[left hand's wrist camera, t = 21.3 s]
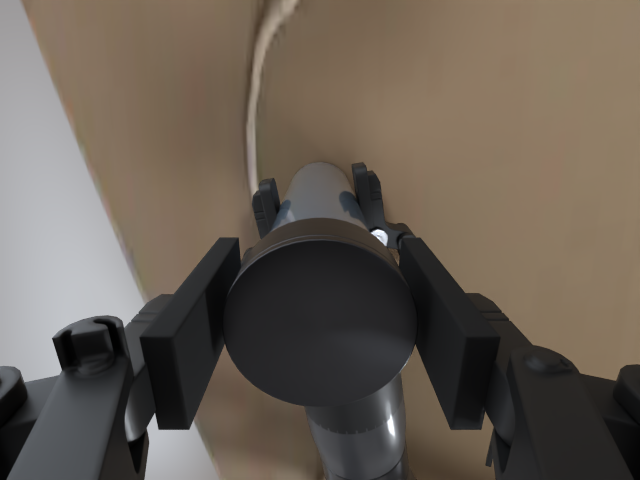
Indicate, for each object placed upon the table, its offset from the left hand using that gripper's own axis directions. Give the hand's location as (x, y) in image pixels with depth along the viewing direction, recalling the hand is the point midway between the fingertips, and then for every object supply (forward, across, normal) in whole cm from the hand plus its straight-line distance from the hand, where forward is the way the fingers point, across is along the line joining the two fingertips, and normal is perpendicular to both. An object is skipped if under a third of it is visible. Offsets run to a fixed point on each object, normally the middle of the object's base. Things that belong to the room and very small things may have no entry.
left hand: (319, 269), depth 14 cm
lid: (-4, 0, 0) cm, 4 cm away
